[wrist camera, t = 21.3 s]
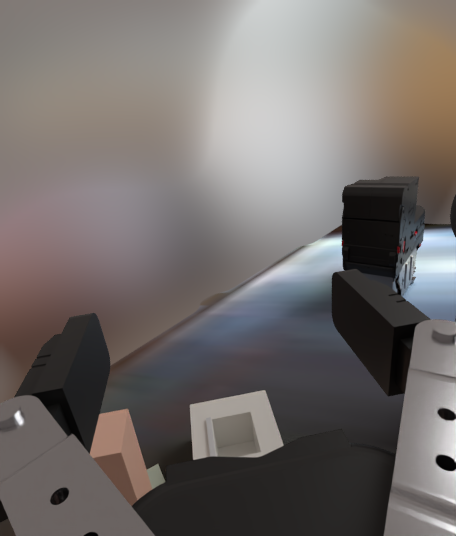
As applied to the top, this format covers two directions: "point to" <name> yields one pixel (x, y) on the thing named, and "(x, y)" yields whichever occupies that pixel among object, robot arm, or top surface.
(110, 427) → the tall brown pillar
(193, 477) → the robot arm
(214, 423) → the white square socket block
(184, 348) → the top surface
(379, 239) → the bill acceptor
